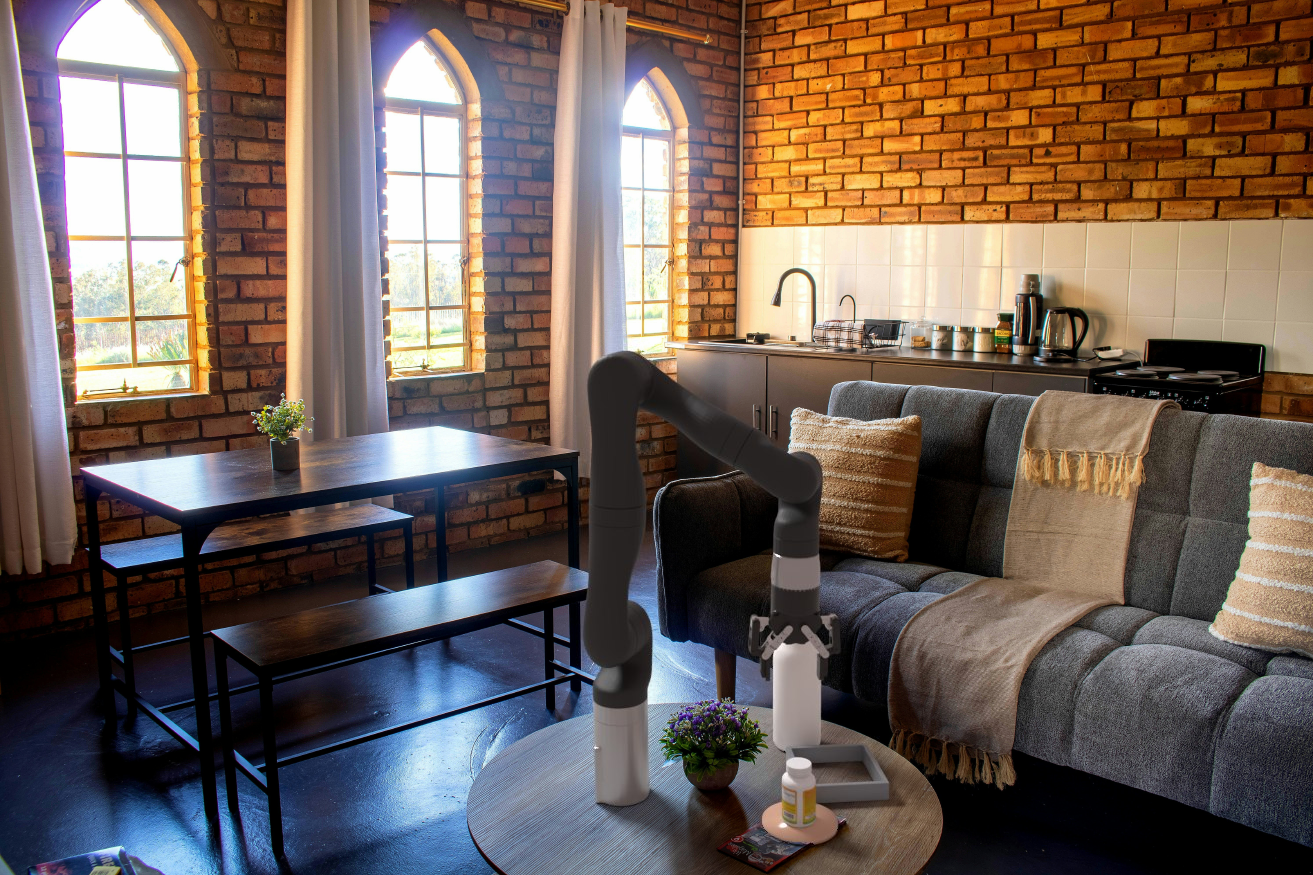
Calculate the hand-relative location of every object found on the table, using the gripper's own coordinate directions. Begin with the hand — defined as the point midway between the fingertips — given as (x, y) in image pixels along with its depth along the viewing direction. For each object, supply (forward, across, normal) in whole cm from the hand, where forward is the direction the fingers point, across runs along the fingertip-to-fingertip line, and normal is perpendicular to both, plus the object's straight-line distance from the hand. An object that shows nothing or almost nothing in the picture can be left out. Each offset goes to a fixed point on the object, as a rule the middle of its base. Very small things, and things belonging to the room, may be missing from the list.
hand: (793, 678), depth 160 cm
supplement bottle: (+23, +1, -2) cm, 23 cm away
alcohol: (+24, +6, +25) cm, 35 cm away
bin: (+24, +10, +11) cm, 28 cm away
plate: (+24, +1, -2) cm, 24 cm away
